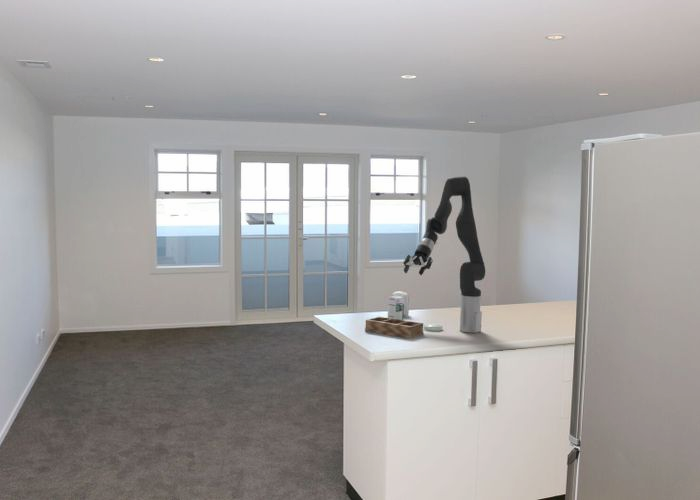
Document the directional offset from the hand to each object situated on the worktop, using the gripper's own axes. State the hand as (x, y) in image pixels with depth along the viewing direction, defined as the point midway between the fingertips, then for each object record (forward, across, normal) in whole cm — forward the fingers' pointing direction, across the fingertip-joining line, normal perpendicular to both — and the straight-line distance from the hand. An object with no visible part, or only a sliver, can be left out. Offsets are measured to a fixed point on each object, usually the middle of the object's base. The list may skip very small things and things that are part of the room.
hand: (412, 273), depth 335 cm
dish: (+22, +16, +14) cm, 30 cm away
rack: (+35, +6, 0) cm, 36 cm away
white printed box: (+5, -17, +31) cm, 36 cm away
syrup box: (+26, -2, +10) cm, 28 cm away
